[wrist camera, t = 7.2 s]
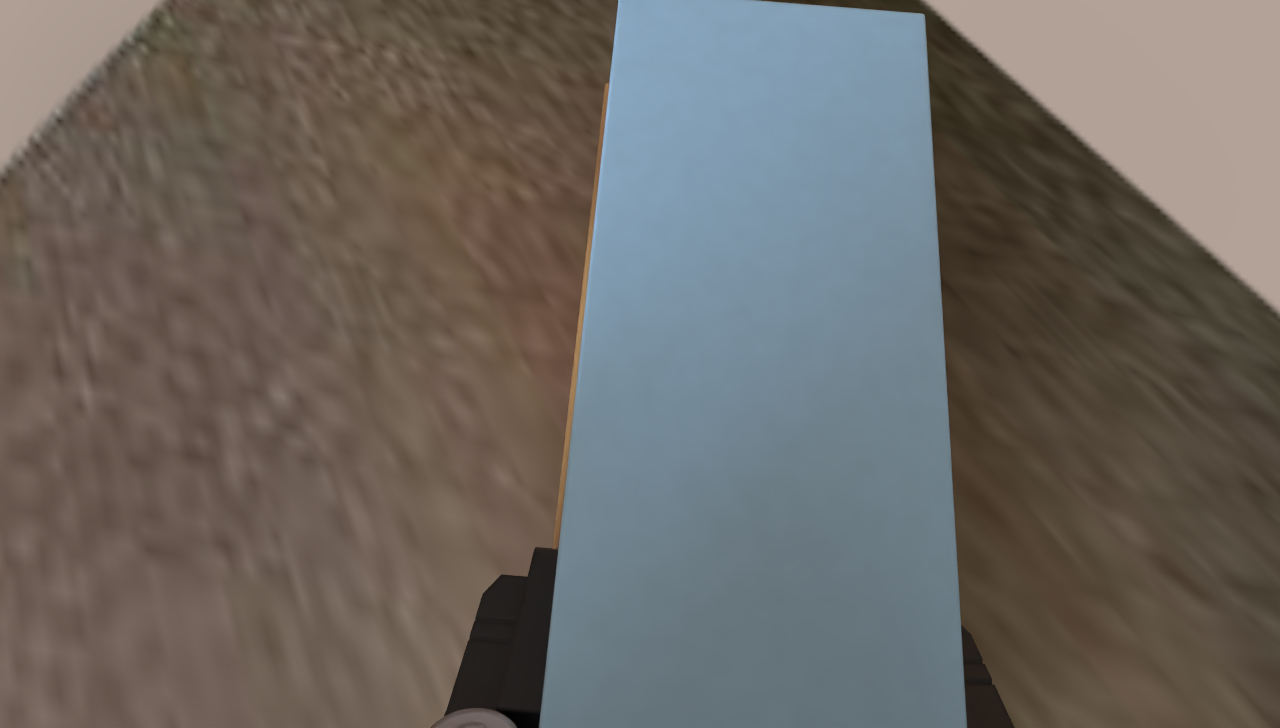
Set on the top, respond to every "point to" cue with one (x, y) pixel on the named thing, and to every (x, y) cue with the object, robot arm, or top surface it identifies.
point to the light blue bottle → (761, 386)
